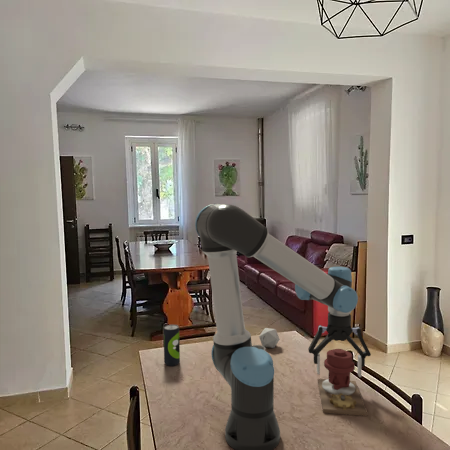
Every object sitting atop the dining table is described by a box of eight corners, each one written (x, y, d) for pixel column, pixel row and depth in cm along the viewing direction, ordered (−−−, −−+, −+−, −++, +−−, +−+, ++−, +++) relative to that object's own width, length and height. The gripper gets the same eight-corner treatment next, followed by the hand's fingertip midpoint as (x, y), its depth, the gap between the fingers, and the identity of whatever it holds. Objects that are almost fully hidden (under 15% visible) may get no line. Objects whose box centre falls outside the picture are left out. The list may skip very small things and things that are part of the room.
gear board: (367, 416, 117) (367, 405, 116) (323, 412, 119) (323, 402, 118) (355, 384, 136) (355, 375, 136) (317, 381, 138) (317, 372, 138)
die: (258, 344, 176) (254, 332, 170) (272, 332, 179) (268, 320, 173) (269, 355, 170) (266, 343, 164) (284, 343, 173) (281, 331, 167)
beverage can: (164, 360, 157) (163, 324, 156) (179, 359, 159) (178, 323, 157) (164, 367, 151) (163, 330, 150) (180, 365, 152) (179, 328, 151)
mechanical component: (321, 378, 137) (350, 379, 136) (326, 392, 127) (357, 393, 126) (322, 344, 136) (351, 345, 135) (326, 356, 126) (358, 357, 125)
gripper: (375, 311, 132) (374, 371, 133) (301, 308, 136) (301, 366, 137) (380, 317, 124) (379, 381, 126) (302, 314, 128) (301, 376, 130)
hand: (338, 374), depth 131 cm, fingers open, 13 cm apart
